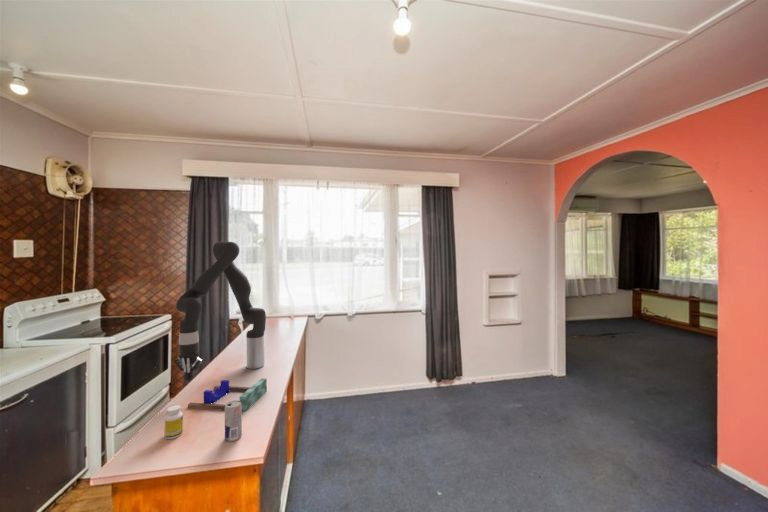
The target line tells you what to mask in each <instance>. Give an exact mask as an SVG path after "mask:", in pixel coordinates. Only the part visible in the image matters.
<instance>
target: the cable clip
mask: <svg viewBox="0 0 768 512" xmlns="http://www.w3.org/2000/svg"><path fill="white" fill-rule="evenodd" d="M219 386H220V387H218V388H216V390H214V391H213V390H210V389H206V390H204V391H203V403H207V404H211V403H213V404H215V403H216V402H218V401H220V398H221V397H222V398H223V396H224V397H225V396H227V395H226V393H228V394H230V391H229V386H230V380H229V379H222V380H221V381H220V385H219ZM222 398H221V399H222ZM217 400H218V401H217ZM214 402H215V403H214Z"/></svg>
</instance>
